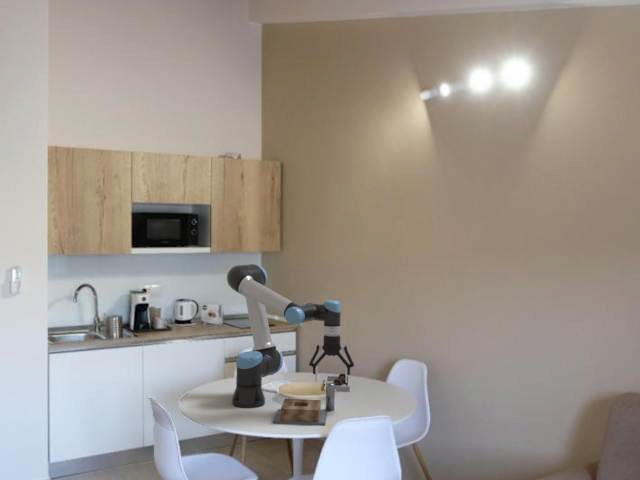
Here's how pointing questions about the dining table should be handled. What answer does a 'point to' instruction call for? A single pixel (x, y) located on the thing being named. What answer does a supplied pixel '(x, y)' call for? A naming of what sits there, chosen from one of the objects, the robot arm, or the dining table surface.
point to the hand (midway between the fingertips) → (331, 381)
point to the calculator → (274, 386)
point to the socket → (301, 412)
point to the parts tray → (338, 388)
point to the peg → (330, 396)
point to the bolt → (340, 380)
